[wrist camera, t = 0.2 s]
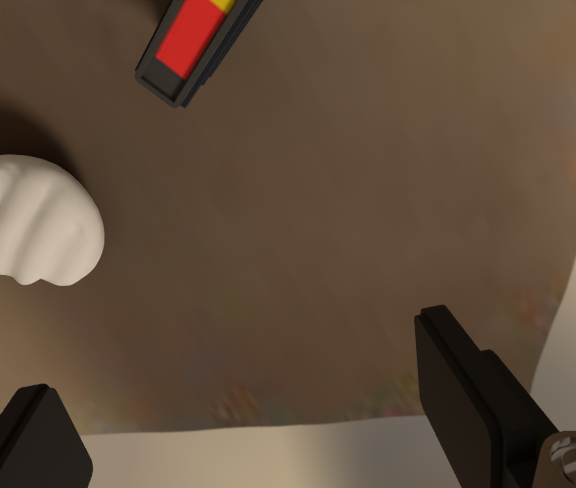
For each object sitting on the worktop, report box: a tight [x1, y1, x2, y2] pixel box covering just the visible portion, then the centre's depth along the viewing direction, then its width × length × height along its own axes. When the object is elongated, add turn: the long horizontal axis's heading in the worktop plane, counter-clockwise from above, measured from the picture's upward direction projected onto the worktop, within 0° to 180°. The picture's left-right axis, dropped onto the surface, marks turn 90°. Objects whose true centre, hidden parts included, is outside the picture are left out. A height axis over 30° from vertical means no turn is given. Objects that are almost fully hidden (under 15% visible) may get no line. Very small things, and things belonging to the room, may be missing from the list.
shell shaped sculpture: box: [0, 154, 104, 286], centre depth 38 cm, size 13×13×6 cm
